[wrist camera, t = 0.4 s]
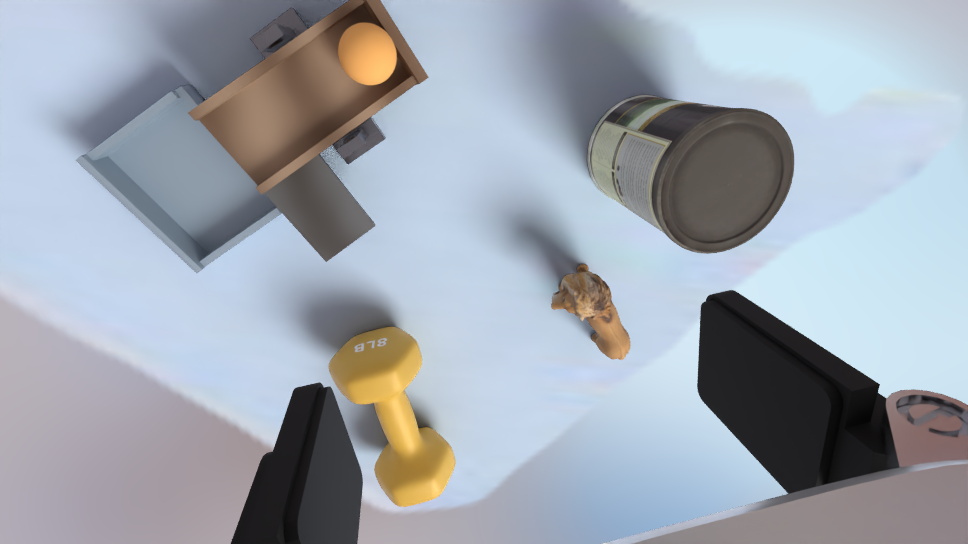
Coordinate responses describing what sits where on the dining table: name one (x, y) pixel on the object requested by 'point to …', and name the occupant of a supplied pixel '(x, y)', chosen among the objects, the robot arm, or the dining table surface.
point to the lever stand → (282, 34)
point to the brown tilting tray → (307, 123)
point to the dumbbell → (394, 413)
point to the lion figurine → (593, 310)
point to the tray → (180, 180)
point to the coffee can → (693, 168)
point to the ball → (367, 53)
